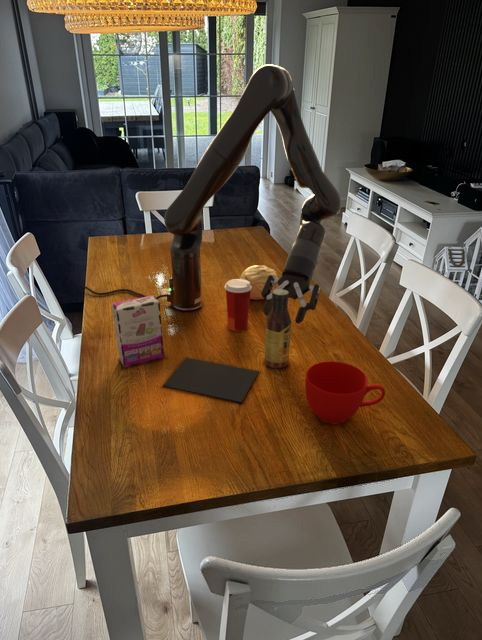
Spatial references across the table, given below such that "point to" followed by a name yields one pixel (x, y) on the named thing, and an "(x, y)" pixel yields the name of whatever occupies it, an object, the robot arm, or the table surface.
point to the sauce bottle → (278, 331)
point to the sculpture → (258, 279)
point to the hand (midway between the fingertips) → (281, 318)
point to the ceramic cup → (337, 391)
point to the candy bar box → (138, 330)
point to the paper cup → (237, 303)
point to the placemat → (212, 380)
